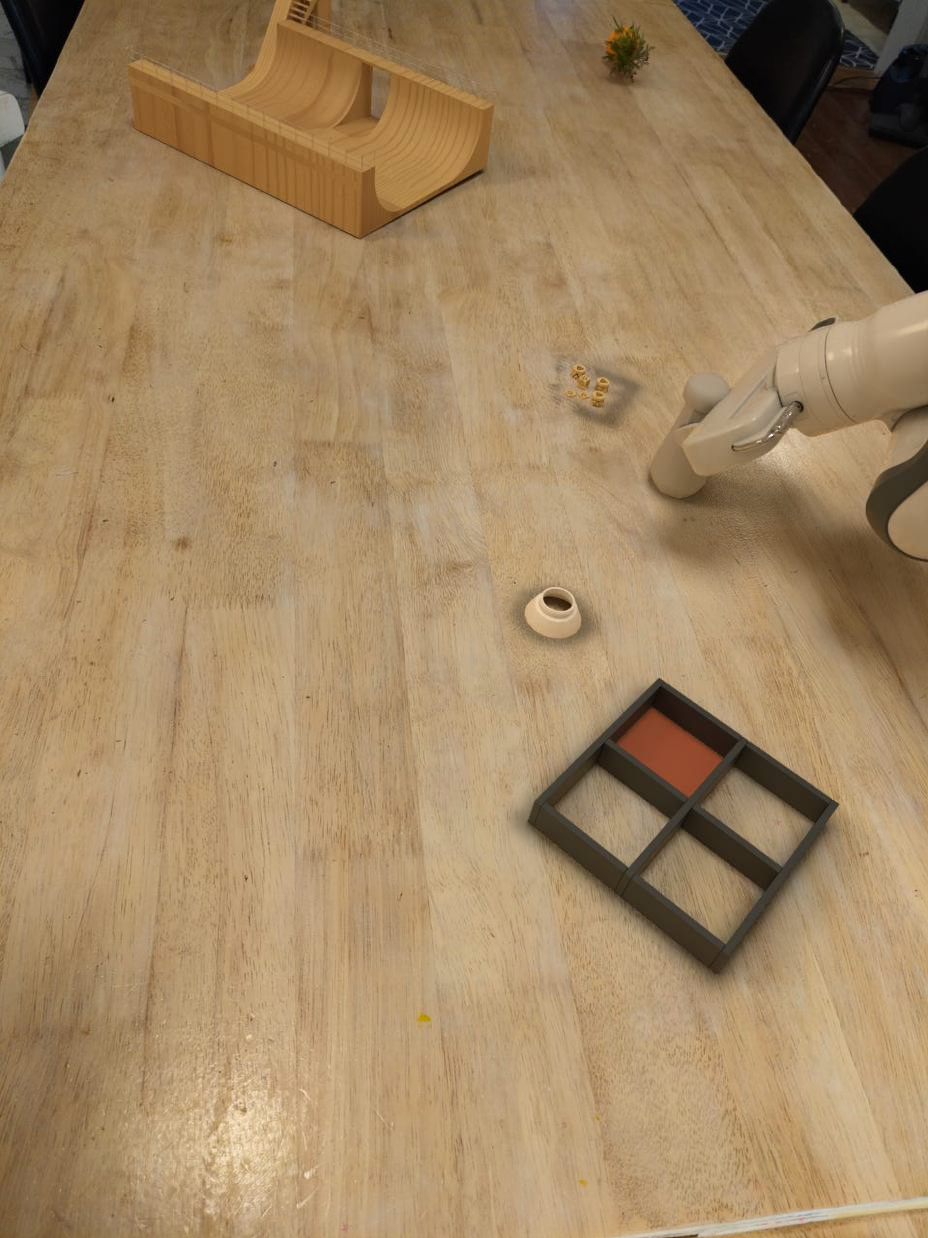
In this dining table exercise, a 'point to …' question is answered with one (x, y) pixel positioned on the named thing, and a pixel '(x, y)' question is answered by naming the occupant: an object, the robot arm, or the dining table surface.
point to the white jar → (553, 615)
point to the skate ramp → (321, 124)
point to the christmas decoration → (626, 49)
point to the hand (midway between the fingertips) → (687, 426)
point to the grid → (680, 807)
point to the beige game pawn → (670, 458)
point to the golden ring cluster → (584, 382)
